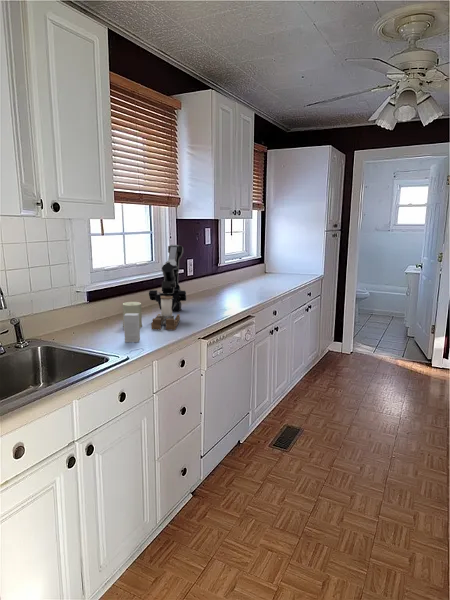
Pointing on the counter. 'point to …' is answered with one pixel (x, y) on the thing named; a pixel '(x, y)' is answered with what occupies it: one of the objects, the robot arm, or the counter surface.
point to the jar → (166, 305)
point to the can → (132, 310)
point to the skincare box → (131, 327)
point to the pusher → (164, 318)
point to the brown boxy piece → (170, 323)
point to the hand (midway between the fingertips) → (166, 309)
